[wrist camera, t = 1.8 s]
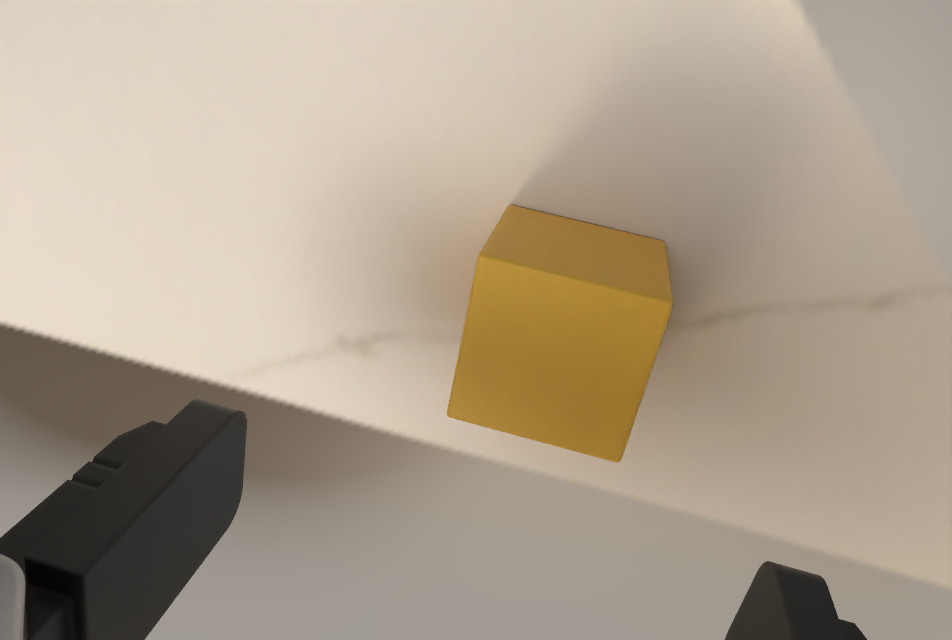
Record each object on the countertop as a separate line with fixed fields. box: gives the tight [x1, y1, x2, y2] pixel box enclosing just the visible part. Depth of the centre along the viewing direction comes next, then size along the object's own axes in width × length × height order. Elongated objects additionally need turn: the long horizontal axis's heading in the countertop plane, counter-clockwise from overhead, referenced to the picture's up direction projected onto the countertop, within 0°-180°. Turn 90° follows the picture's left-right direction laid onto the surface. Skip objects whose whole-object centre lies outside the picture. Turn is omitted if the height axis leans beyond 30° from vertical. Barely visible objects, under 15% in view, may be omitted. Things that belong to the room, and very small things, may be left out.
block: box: [447, 205, 674, 462], centre depth 19 cm, size 4×4×4 cm
